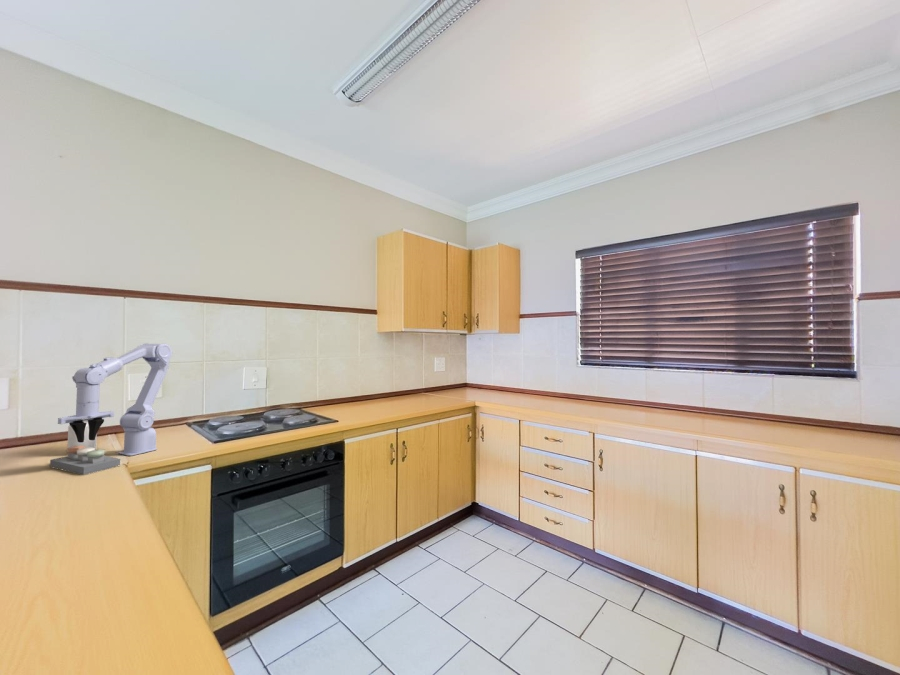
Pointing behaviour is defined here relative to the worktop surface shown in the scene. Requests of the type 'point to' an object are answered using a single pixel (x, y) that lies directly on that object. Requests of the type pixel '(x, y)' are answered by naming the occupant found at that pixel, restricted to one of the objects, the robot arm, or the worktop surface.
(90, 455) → the sage button
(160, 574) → the worktop surface
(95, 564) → the worktop surface
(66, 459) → the button panel
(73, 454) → the terracotta button
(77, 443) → the translucent white cylinder
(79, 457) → the cream button
